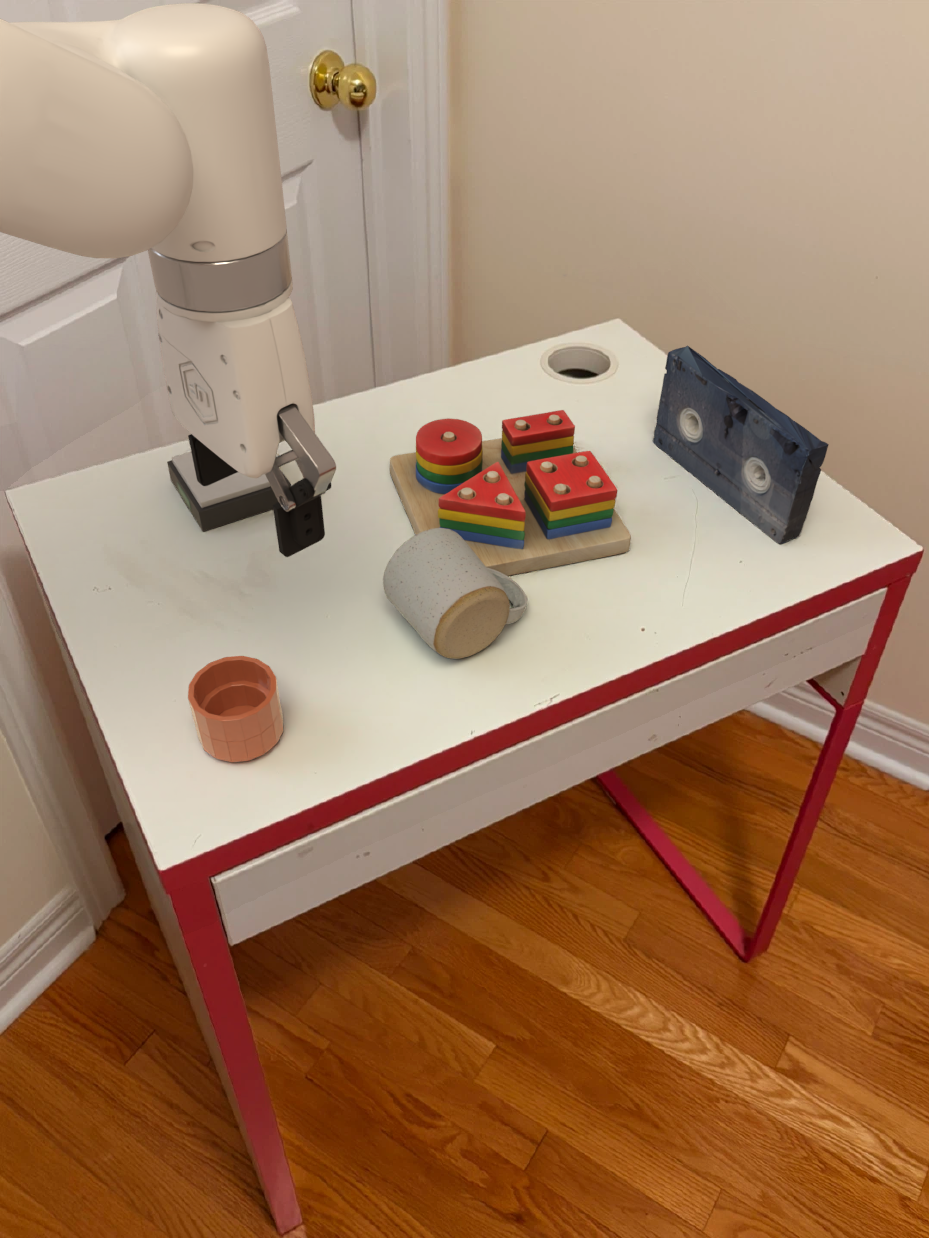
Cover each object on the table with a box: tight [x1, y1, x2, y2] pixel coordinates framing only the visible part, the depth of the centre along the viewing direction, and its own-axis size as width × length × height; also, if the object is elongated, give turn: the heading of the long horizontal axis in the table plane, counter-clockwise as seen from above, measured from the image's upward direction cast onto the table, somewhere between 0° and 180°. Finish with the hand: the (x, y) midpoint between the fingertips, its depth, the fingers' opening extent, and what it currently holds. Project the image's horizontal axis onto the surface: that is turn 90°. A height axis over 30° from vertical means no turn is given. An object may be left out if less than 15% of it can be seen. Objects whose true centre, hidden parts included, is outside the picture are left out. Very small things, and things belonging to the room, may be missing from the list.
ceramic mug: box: [382, 528, 528, 660], centre depth 82 cm, size 11×8×8 cm
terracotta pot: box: [187, 655, 284, 763], centre depth 74 cm, size 6×6×5 cm
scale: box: [166, 451, 292, 533], centre depth 95 cm, size 9×9×3 cm
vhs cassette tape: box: [652, 345, 829, 545], centre depth 94 cm, size 18×3×10 cm, turn 29°
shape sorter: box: [389, 409, 632, 577], centre depth 93 cm, size 18×17×6 cm
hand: (259, 510), depth 70 cm, fingers open, 9 cm apart
